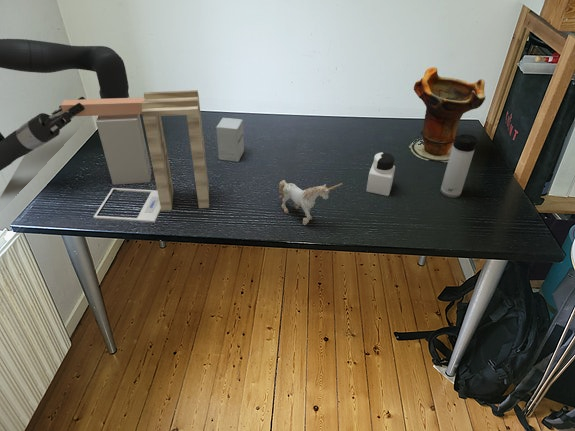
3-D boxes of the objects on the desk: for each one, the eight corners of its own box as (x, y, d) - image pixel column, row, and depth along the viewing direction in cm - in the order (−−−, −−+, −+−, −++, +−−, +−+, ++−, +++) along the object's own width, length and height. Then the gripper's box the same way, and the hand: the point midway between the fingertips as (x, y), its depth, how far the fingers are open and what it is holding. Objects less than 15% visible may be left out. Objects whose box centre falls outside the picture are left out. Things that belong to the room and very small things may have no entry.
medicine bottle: (392, 184, 149) (398, 152, 141) (388, 196, 144) (394, 164, 136) (370, 179, 151) (375, 148, 143) (366, 191, 145) (370, 159, 138)
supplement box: (239, 162, 158) (237, 129, 150) (218, 159, 159) (215, 126, 151) (244, 151, 163) (243, 119, 155) (224, 149, 164) (222, 116, 156)
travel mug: (450, 200, 142) (467, 144, 130) (436, 189, 147) (451, 134, 134) (465, 195, 145) (483, 139, 132) (450, 184, 149) (467, 129, 137)
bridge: (163, 191, 144) (144, 89, 123) (208, 188, 145) (197, 87, 124) (161, 210, 136) (140, 106, 115) (209, 207, 138) (197, 103, 117)
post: (115, 174, 150) (99, 113, 137) (151, 172, 152) (139, 111, 138) (112, 184, 146) (95, 121, 132) (149, 182, 148) (136, 120, 134)
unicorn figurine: (328, 235, 129) (331, 196, 121) (268, 213, 136) (267, 176, 128) (338, 221, 134) (342, 183, 125) (280, 201, 141) (280, 164, 133)
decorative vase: (470, 170, 155) (490, 91, 138) (401, 160, 162) (412, 84, 145) (471, 141, 171) (489, 67, 154) (408, 133, 177) (419, 61, 160)
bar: (67, 111, 134) (63, 99, 132) (151, 108, 137) (149, 97, 135) (64, 116, 131) (60, 105, 129) (150, 113, 134) (148, 102, 132)
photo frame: (154, 220, 132) (93, 216, 133) (154, 223, 132) (94, 219, 133) (168, 190, 143) (112, 187, 144) (169, 193, 144) (113, 190, 145)
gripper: (19, 133, 127) (68, 102, 123) (34, 110, 138) (79, 81, 134) (41, 153, 132) (88, 124, 128) (54, 129, 142) (97, 102, 139)
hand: (83, 102), depth 131 cm, fingers closed on bar, 3 cm apart
